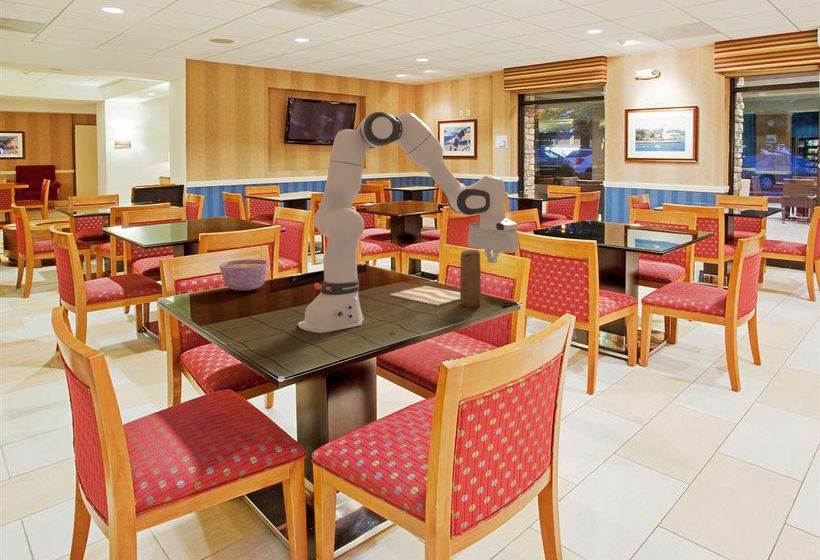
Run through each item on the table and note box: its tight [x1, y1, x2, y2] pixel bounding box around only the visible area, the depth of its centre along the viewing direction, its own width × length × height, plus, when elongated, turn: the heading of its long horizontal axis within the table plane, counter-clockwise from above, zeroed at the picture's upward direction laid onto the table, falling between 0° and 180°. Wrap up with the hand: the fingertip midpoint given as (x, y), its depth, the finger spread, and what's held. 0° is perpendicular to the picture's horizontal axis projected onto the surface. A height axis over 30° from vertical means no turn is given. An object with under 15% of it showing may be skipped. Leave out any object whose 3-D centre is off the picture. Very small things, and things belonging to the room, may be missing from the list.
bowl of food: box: [219, 258, 269, 291], centre depth 259 cm, size 20×20×12 cm
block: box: [459, 249, 482, 308], centre depth 227 cm, size 11×8×20 cm
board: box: [390, 285, 461, 307], centre depth 243 cm, size 20×26×1 cm
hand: (492, 262), depth 218 cm, fingers closed
